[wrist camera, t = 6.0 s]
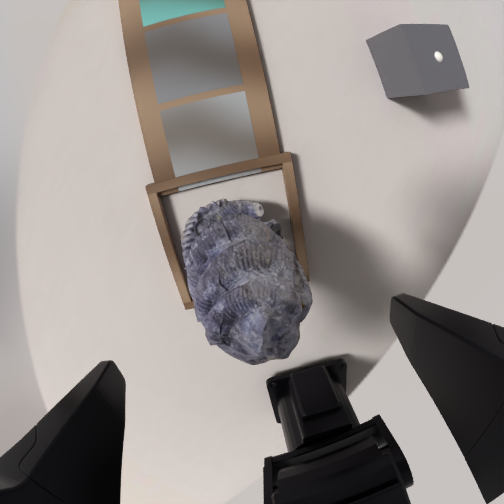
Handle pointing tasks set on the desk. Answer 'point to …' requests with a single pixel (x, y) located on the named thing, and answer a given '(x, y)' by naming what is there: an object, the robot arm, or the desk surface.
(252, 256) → the seashell
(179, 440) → the desk surface
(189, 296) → the frame
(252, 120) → the board
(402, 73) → the die
